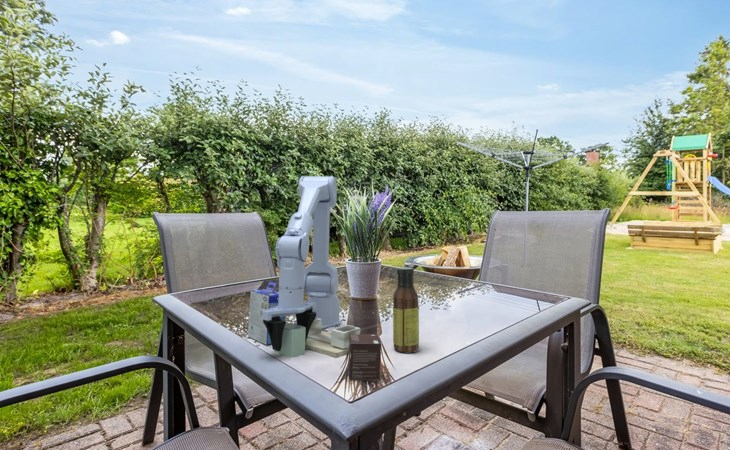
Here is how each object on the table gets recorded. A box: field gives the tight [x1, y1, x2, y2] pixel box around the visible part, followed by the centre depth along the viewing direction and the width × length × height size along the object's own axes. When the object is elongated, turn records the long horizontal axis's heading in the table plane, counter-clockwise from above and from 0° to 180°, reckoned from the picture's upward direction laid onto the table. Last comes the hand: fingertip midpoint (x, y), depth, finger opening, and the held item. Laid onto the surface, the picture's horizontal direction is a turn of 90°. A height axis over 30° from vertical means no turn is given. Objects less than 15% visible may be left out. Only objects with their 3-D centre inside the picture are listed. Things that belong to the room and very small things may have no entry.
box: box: [347, 333, 382, 382], centre depth 76 cm, size 6×6×7 cm
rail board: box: [293, 318, 361, 359], centre depth 95 cm, size 11×17×5 cm, turn 52°
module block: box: [273, 322, 306, 358], centre depth 88 cm, size 4×6×6 cm, turn 52°
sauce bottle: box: [392, 266, 420, 353], centre depth 92 cm, size 7×6×20 cm
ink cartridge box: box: [247, 281, 286, 346], centre depth 97 cm, size 10×6×14 cm, turn 44°
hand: (289, 346), depth 88 cm, fingers open, 7 cm apart
